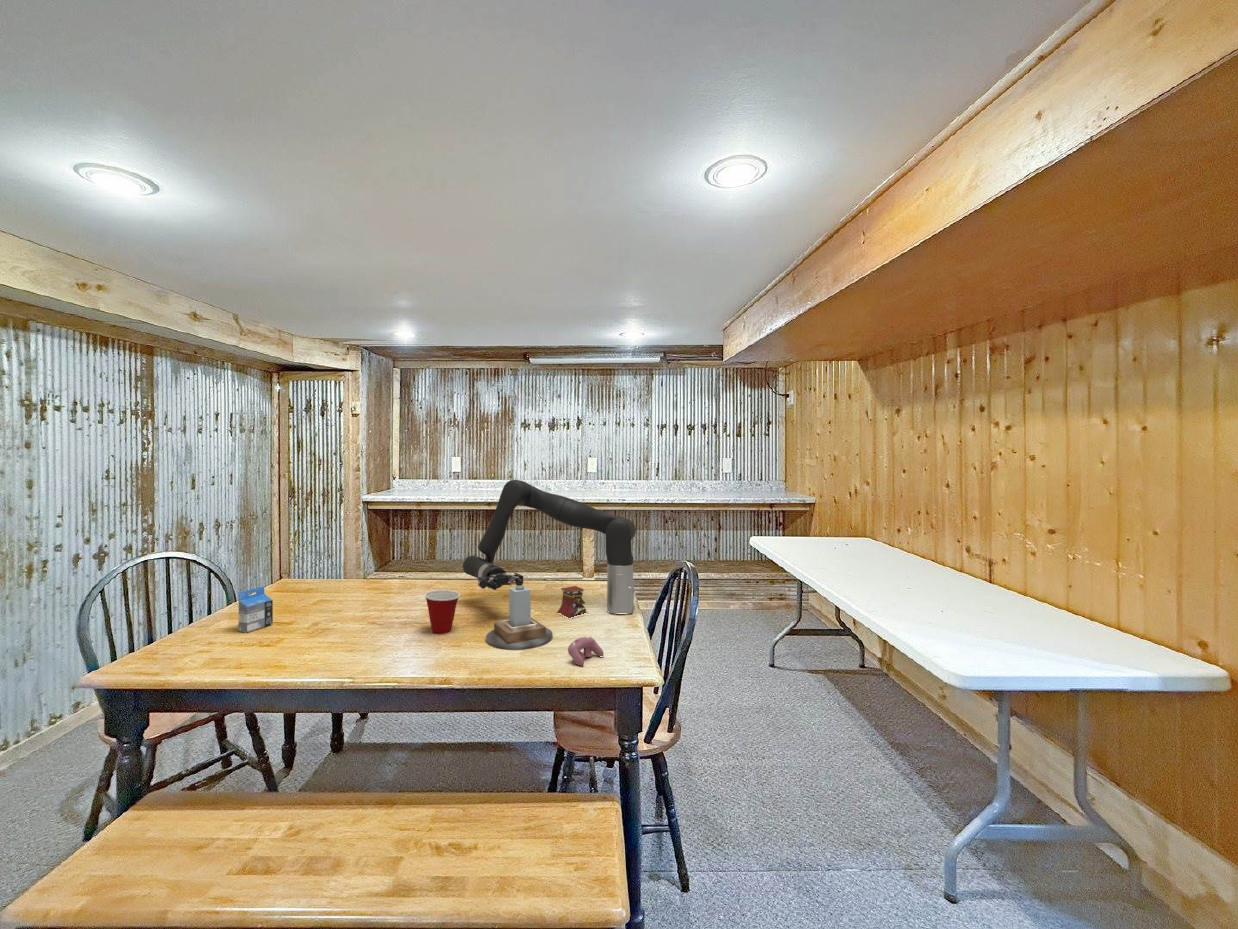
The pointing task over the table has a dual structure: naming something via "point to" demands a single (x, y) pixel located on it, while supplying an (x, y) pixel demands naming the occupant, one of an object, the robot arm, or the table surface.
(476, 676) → the table surface
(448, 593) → the plastic cup
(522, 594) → the slate block
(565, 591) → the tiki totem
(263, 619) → the ink cartridge box
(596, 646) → the purple curved piece
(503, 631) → the tower base
